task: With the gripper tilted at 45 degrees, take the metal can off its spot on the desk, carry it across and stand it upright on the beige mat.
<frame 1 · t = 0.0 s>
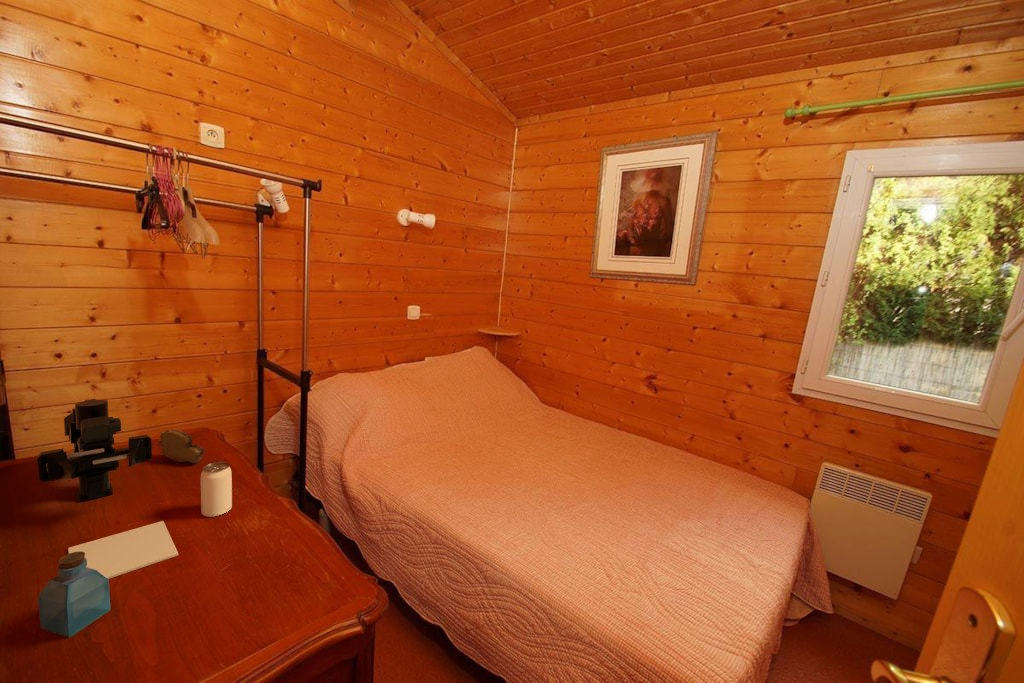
hand: (102, 469, 94), 17 cm above the table, tool horizontal, fingers open, 9 cm apart
wooden carving: (181, 461, 134), on the table
beige mat: (123, 552, 93), on the table
perfume bottle: (76, 620, 76), on the table
can: (216, 511, 110), on the table
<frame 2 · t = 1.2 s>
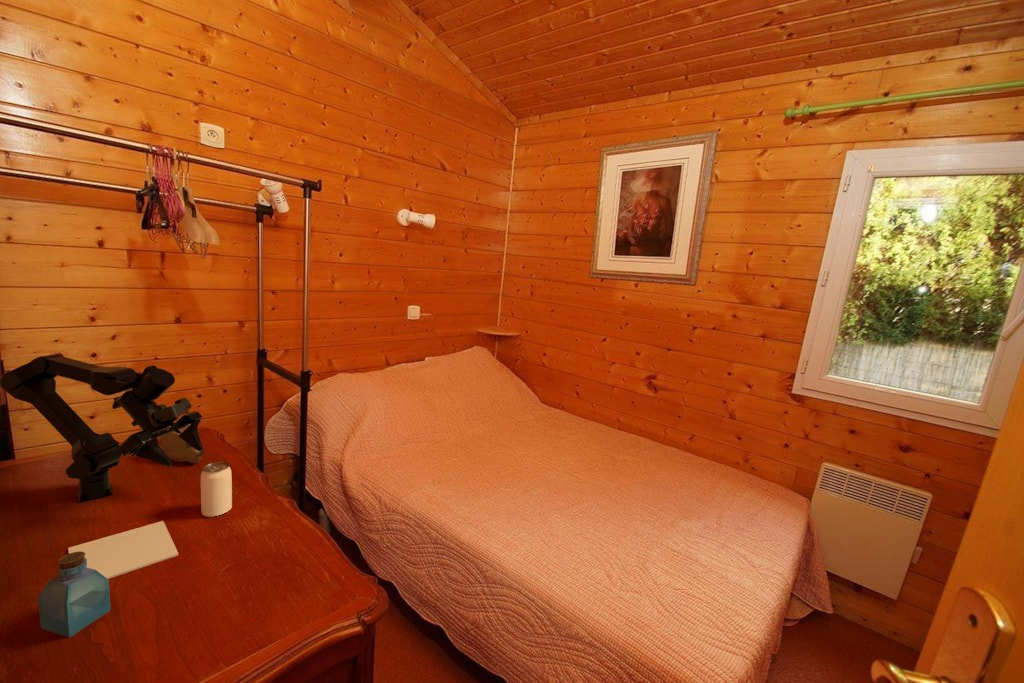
hand: (186, 457, 109), 13 cm above the table, tool tilted 45°, fingers open, 9 cm apart
nothing on the table moved.
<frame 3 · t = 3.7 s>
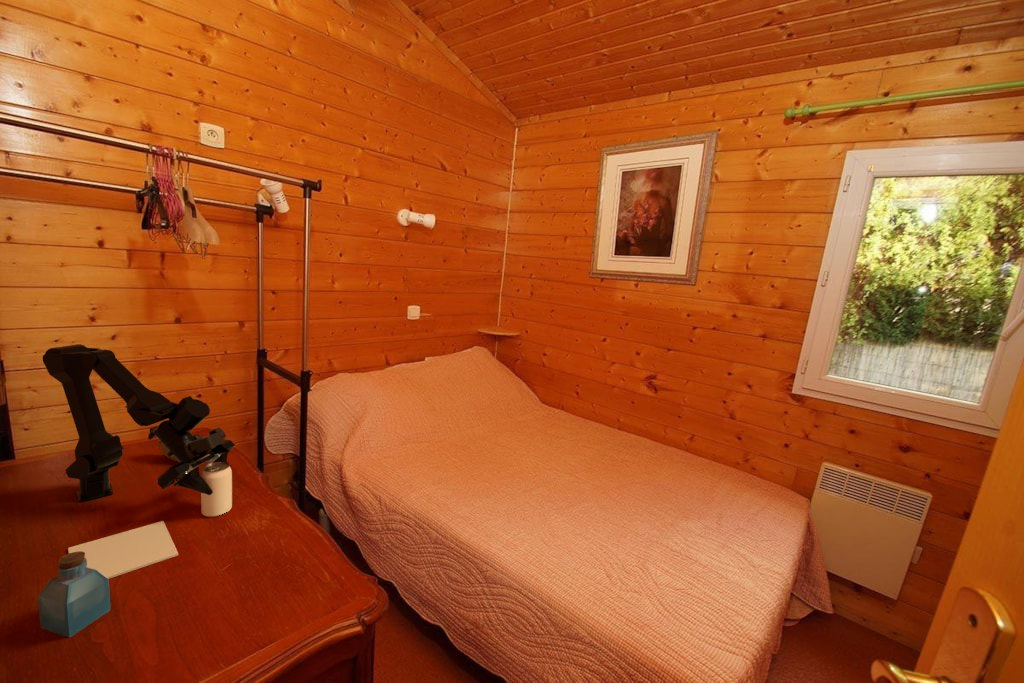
hand: (221, 487, 109), 7 cm above the table, tool tilted 45°, fingers closed on can, 6 cm apart
can: (216, 511, 110), on the table, touching gripper
everything else where it was.
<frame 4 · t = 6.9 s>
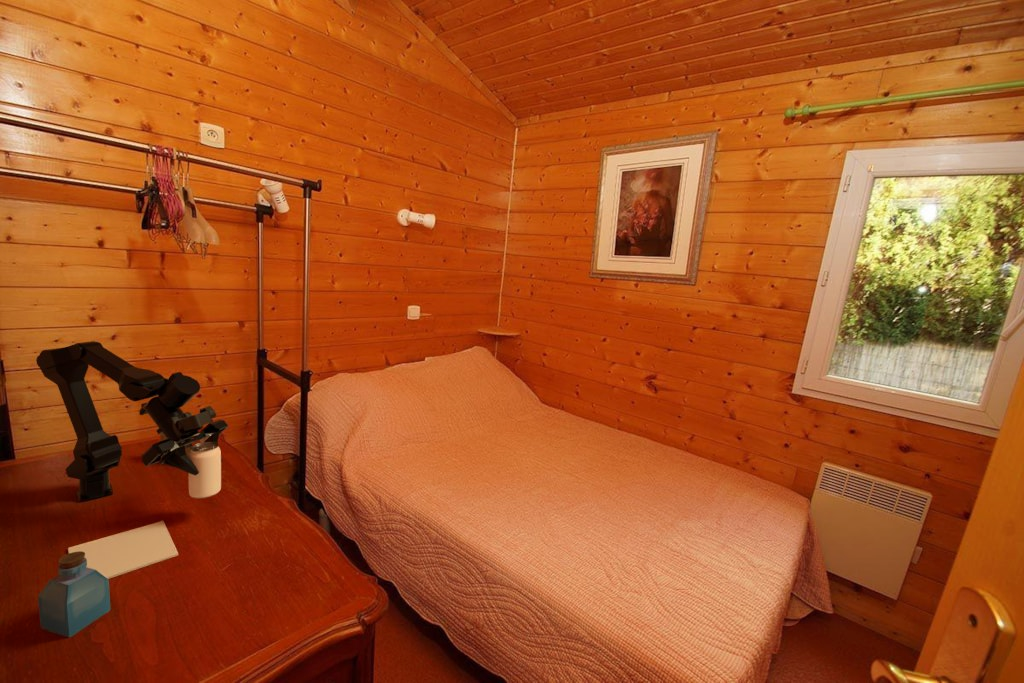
hand: (209, 468, 105), 13 cm above the table, tool tilted 45°, fingers closed on can, 6 cm apart
can: (205, 493, 106), point 6 cm above the table, touching gripper
everything else where it was.
when the fingers open (8 cm above the table, at t = 10.1 s): can stays where it is, resting on beige mat.
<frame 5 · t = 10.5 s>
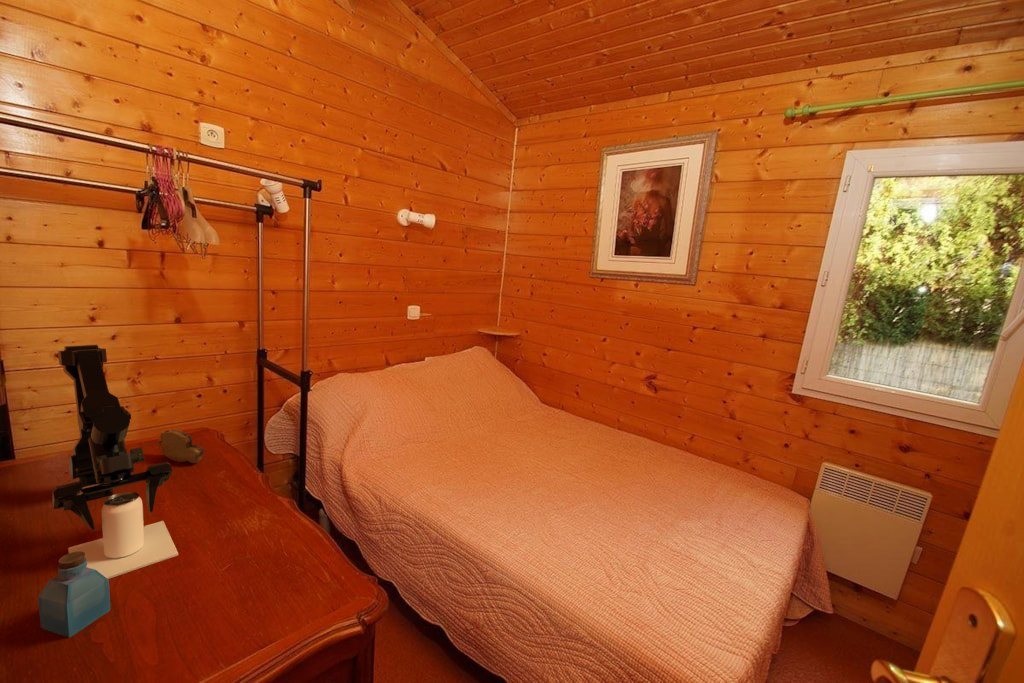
hand: (123, 521, 91), 8 cm above the table, tool tilted 45°, fingers open, 9 cm apart
can: (124, 550, 93), resting on beige mat
everything else where it was.
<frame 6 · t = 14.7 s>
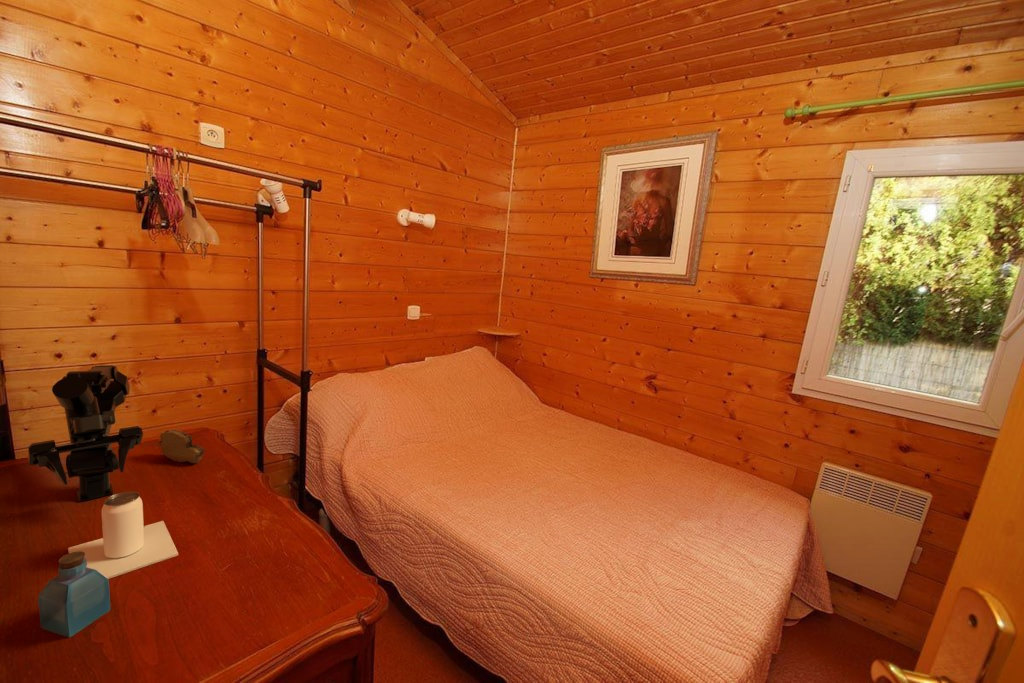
hand: (95, 477, 98), 13 cm above the table, tool tilted 45°, fingers open, 9 cm apart
nothing on the table moved.
at the end: can inside the target area (0.3 cm from its centre), resting on beige mat; can tilted 0°; the gripper is holding nothing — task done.
